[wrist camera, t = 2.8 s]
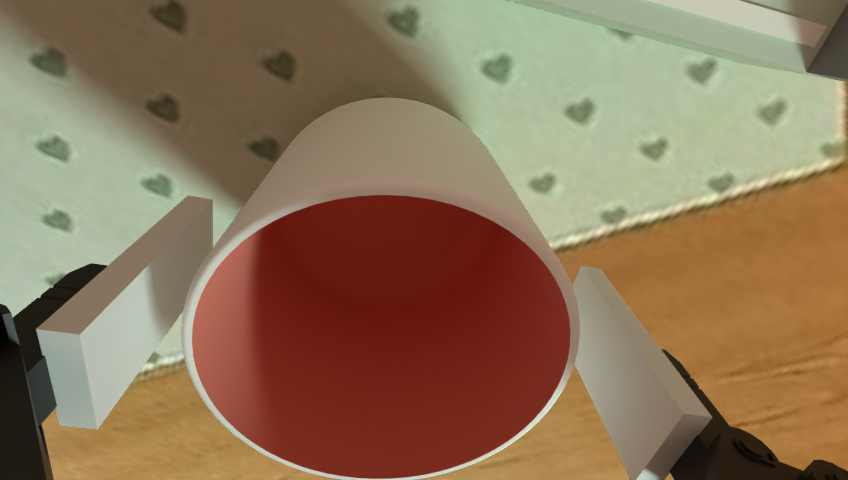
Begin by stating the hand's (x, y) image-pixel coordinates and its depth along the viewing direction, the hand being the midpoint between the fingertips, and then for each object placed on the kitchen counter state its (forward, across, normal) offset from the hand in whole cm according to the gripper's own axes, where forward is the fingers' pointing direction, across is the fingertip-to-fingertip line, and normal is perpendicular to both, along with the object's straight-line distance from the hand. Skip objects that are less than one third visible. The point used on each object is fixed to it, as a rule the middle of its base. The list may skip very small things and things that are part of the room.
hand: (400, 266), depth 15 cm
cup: (+5, 0, 0) cm, 5 cm away
